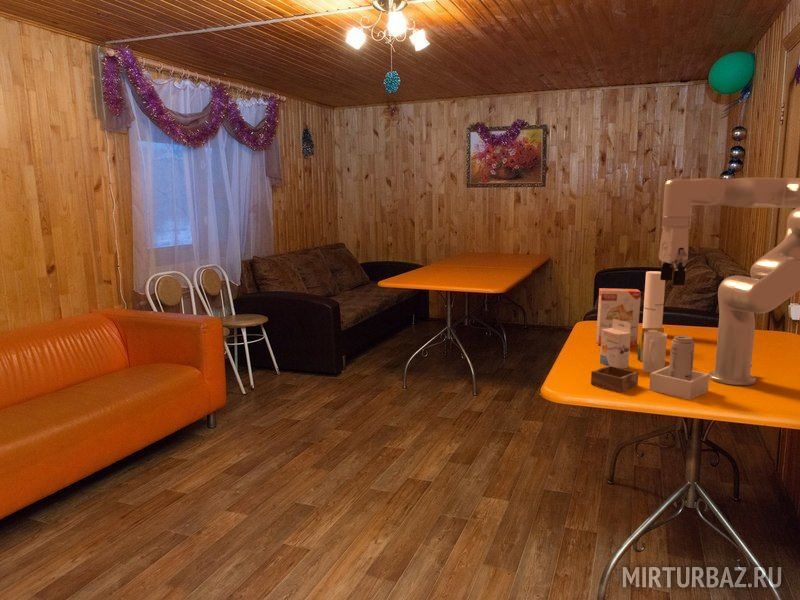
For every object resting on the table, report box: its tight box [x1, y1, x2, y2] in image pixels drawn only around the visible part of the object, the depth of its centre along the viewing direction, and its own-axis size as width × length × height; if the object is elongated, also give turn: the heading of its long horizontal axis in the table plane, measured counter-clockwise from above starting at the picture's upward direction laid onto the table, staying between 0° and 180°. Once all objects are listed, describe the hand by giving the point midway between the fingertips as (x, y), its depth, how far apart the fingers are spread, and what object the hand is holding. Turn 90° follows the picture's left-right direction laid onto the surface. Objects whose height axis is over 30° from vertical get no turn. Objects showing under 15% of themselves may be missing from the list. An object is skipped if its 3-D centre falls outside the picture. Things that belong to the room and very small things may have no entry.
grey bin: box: [648, 365, 710, 401], centre depth 175 cm, size 12×12×5 cm
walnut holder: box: [590, 365, 639, 393], centre depth 181 cm, size 10×10×4 cm
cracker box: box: [595, 287, 642, 348], centre depth 227 cm, size 14×6×21 cm, turn 81°
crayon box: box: [637, 327, 665, 363], centre depth 206 cm, size 7×3×12 cm, turn 89°
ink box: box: [599, 319, 631, 369], centre depth 200 cm, size 8×5×15 cm, turn 25°
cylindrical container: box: [641, 270, 666, 332], centre depth 242 cm, size 7×7×25 cm
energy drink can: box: [668, 334, 695, 381], centre depth 174 cm, size 6×6×15 cm
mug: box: [642, 332, 668, 373], centre depth 193 cm, size 10×7×12 cm, turn 146°
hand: (672, 282), depth 177 cm, fingers open, 9 cm apart
